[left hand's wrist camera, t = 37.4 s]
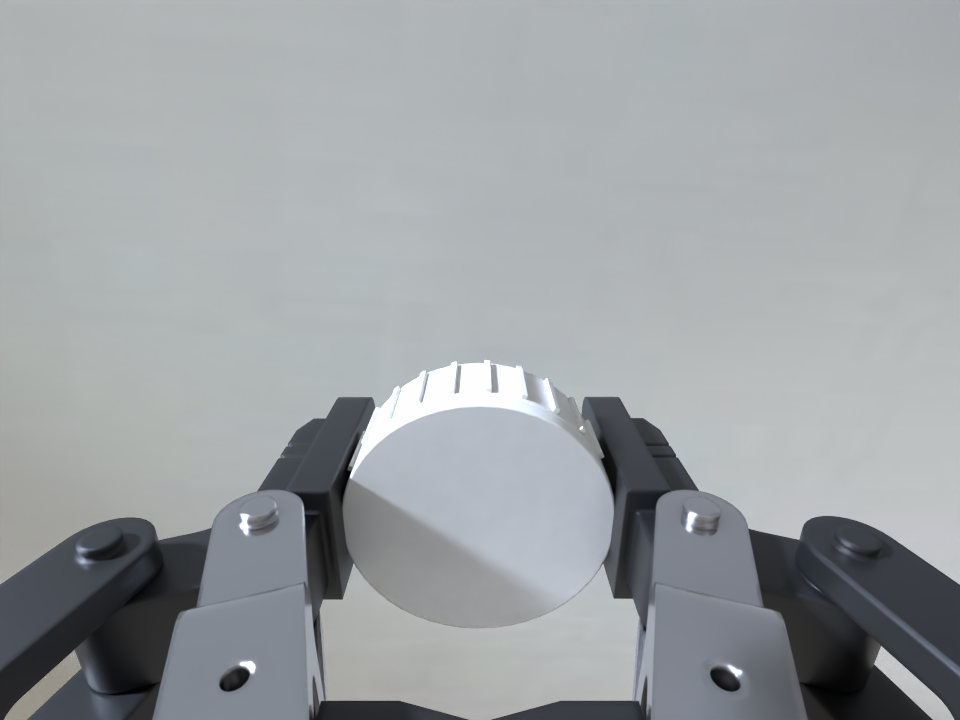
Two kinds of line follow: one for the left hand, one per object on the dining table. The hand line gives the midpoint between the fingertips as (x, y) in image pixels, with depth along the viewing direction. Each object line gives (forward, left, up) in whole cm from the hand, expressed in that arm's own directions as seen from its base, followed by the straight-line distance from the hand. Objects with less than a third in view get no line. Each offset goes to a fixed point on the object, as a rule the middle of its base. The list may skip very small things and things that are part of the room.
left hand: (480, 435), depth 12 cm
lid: (0, 0, +3) cm, 3 cm away
